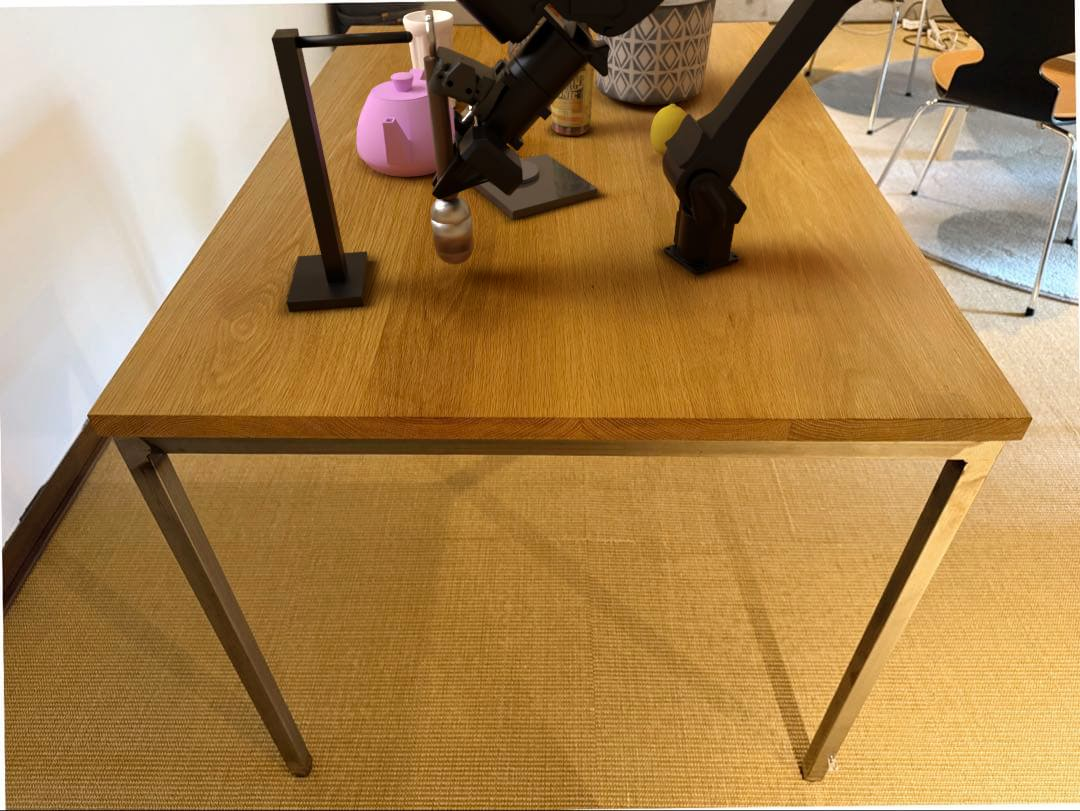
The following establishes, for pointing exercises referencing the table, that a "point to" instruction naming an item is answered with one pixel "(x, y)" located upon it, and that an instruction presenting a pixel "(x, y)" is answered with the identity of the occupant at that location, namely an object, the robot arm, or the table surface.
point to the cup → (419, 44)
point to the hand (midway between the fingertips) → (435, 191)
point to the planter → (660, 55)
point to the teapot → (398, 127)
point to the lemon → (665, 126)
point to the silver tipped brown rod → (451, 211)
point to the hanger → (320, 178)
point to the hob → (540, 188)
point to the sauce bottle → (574, 101)
